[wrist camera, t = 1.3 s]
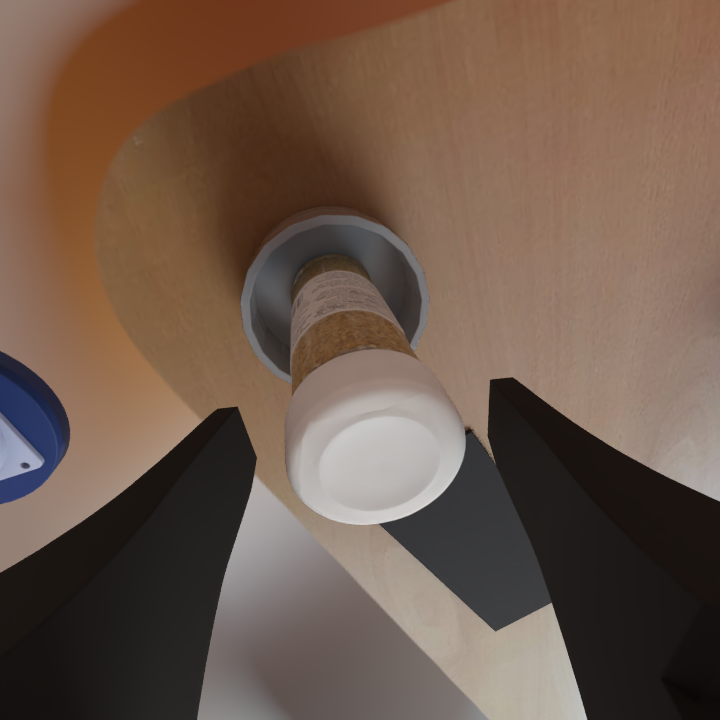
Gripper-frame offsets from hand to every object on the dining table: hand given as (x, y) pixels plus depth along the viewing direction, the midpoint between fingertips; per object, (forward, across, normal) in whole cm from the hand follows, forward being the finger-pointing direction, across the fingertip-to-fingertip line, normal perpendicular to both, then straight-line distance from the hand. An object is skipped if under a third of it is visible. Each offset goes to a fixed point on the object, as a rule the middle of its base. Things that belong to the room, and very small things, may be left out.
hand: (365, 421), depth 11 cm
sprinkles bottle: (+11, +2, 0) cm, 12 cm away
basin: (+12, +2, 0) cm, 12 cm away
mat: (+12, -7, +26) cm, 29 cm away
